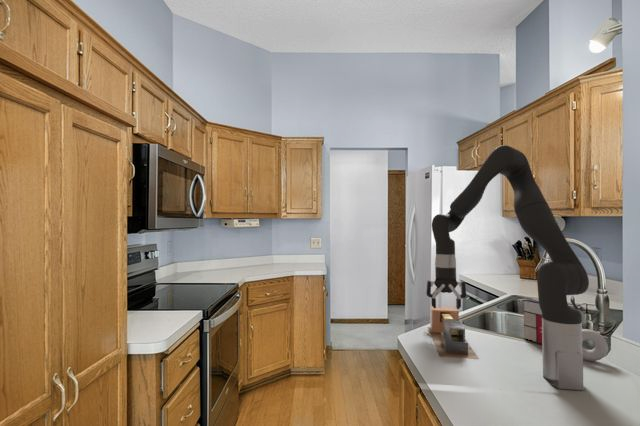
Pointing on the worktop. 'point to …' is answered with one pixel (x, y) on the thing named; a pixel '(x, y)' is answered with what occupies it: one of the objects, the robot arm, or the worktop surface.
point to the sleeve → (454, 337)
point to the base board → (437, 341)
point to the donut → (599, 342)
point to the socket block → (435, 317)
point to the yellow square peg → (447, 316)
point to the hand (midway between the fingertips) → (446, 308)
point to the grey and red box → (532, 321)
